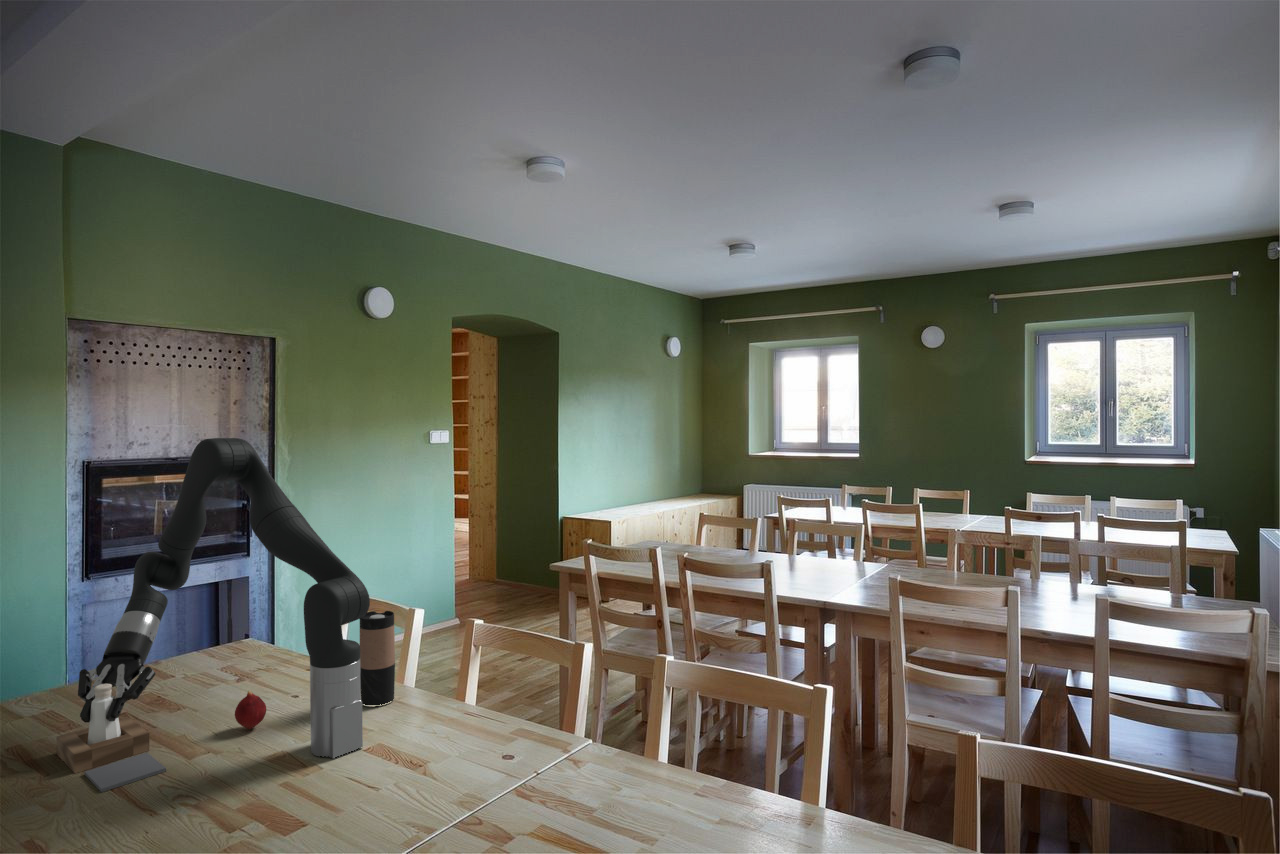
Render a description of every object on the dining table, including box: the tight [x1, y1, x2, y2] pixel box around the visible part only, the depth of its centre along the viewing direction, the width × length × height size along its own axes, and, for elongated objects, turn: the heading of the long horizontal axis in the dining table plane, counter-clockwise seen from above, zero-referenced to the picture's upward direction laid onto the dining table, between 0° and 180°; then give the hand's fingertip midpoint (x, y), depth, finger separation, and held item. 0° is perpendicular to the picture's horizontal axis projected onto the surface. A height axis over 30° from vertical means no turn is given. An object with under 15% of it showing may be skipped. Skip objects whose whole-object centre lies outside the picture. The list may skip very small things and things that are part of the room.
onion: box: [234, 690, 267, 730], centre depth 156 cm, size 6×6×8 cm
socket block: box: [56, 716, 150, 774], centre depth 145 cm, size 12×12×4 cm
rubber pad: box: [83, 752, 167, 793], centre depth 137 cm, size 10×10×1 cm
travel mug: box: [359, 610, 396, 705], centre depth 171 cm, size 8×8×20 cm
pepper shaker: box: [87, 684, 121, 745], centre depth 145 cm, size 5×5×11 cm
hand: (97, 719), depth 143 cm, fingers closed on pepper shaker, 4 cm apart
